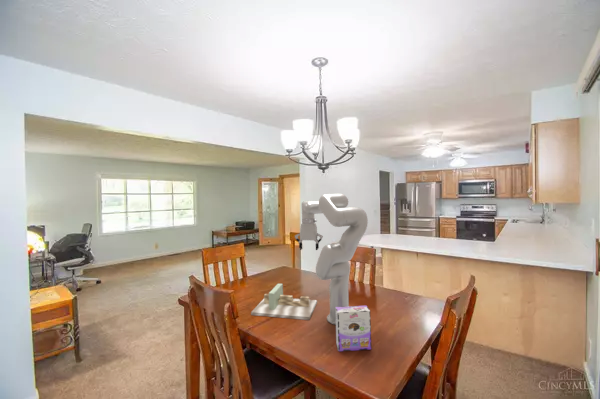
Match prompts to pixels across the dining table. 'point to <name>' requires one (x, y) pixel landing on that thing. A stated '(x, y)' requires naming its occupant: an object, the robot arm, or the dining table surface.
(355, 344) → the candy box
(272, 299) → the cross piece
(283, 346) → the dining table surface
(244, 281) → the dining table surface
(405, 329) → the dining table surface
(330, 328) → the dining table surface
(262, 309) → the white rectangular board
